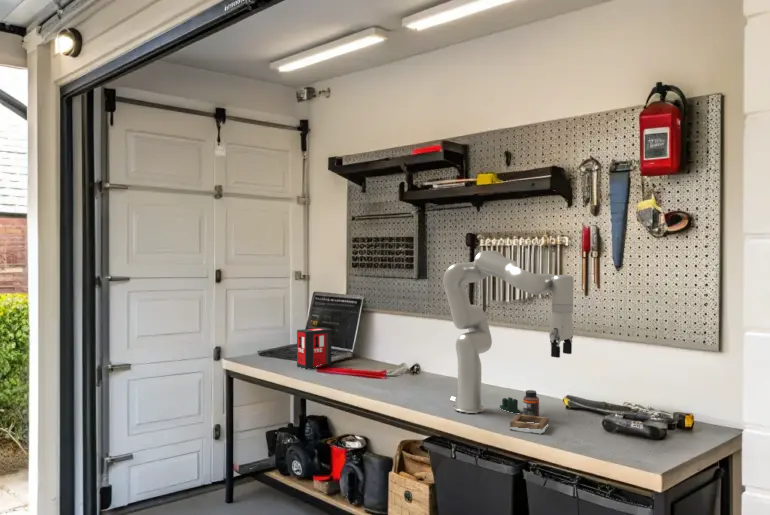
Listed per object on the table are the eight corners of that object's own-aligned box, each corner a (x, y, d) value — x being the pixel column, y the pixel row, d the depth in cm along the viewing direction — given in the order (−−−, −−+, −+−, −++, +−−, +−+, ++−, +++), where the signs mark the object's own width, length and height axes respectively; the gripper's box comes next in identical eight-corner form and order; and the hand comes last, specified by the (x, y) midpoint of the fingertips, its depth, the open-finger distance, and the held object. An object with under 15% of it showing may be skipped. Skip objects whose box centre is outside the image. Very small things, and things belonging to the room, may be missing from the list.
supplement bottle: (536, 418, 242) (536, 389, 242) (540, 422, 236) (541, 393, 236) (521, 418, 242) (521, 389, 241) (525, 422, 236) (525, 393, 236)
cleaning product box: (305, 369, 332) (306, 331, 331) (296, 366, 339) (297, 330, 338) (331, 365, 342) (331, 329, 342) (322, 363, 349) (322, 327, 349)
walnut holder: (509, 430, 227) (509, 421, 227) (517, 421, 237) (517, 413, 237) (542, 434, 221) (542, 426, 221) (549, 425, 232) (549, 417, 232)
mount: (523, 413, 249) (523, 401, 249) (514, 415, 247) (515, 402, 247) (505, 407, 258) (505, 395, 258) (496, 408, 256) (496, 396, 256)
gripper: (562, 306, 237) (562, 351, 237) (541, 309, 224) (541, 357, 224) (581, 307, 232) (581, 353, 232) (561, 311, 219) (560, 360, 219)
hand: (561, 355), depth 228 cm, fingers open, 9 cm apart
